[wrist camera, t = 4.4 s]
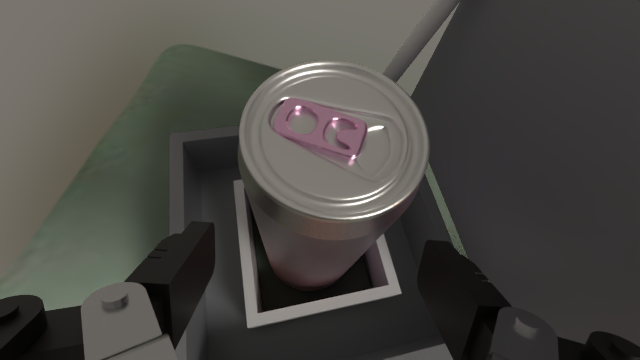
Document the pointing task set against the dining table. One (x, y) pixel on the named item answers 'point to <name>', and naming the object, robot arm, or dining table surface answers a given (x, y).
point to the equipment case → (460, 191)
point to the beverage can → (328, 165)
